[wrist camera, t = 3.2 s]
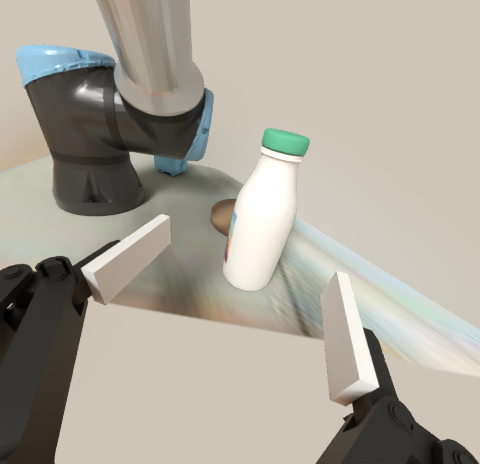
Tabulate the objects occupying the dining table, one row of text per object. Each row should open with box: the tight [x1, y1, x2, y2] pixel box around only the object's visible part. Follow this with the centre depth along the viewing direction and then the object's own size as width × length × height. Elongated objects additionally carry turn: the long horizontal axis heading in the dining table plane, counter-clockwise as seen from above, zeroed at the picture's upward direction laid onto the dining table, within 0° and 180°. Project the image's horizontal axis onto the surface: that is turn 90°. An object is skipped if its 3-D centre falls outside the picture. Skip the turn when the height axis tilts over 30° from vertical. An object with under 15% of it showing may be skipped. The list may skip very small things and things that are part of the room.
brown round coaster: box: [211, 199, 237, 236], centre depth 41 cm, size 14×14×2 cm
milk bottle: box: [223, 129, 310, 291], centre depth 24 cm, size 8×8×20 cm
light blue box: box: [154, 155, 187, 176], centre depth 56 cm, size 12×6×8 cm, turn 70°
